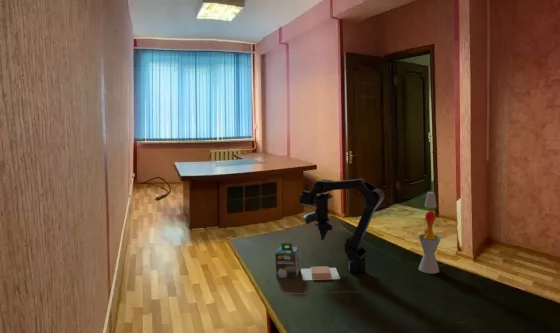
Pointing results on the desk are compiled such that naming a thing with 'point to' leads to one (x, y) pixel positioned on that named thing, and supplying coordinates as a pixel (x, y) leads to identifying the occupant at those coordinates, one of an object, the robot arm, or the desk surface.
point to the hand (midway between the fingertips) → (322, 239)
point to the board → (307, 276)
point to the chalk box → (287, 261)
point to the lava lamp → (429, 239)
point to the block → (320, 272)
